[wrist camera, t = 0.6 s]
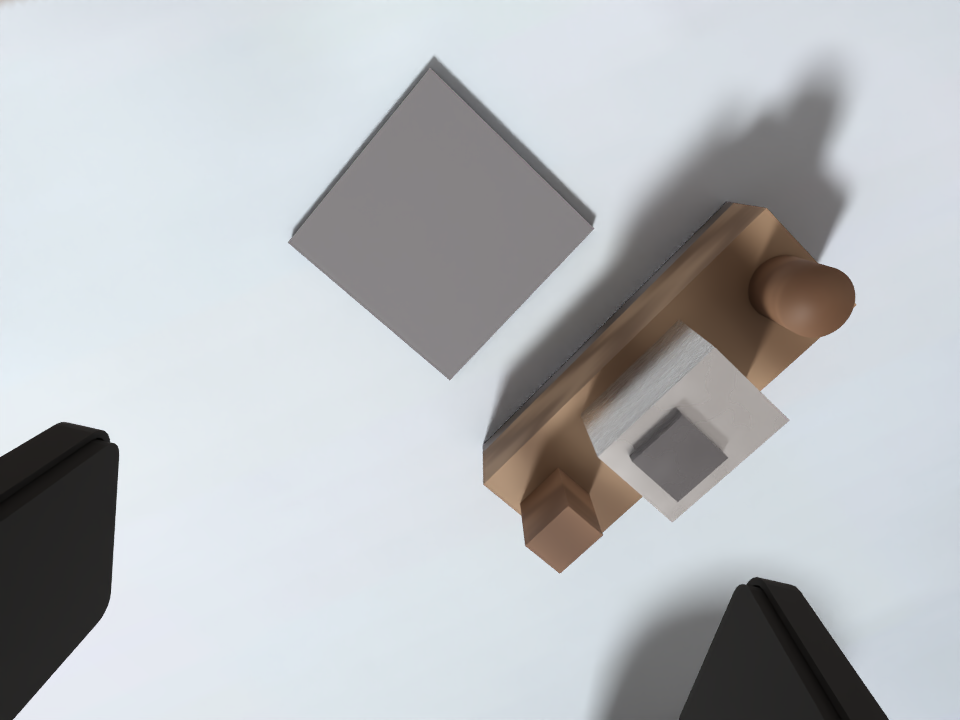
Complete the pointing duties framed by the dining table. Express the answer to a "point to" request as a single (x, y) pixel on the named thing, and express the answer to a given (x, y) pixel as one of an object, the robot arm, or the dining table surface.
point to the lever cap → (679, 421)
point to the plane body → (629, 334)
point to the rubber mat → (440, 227)
